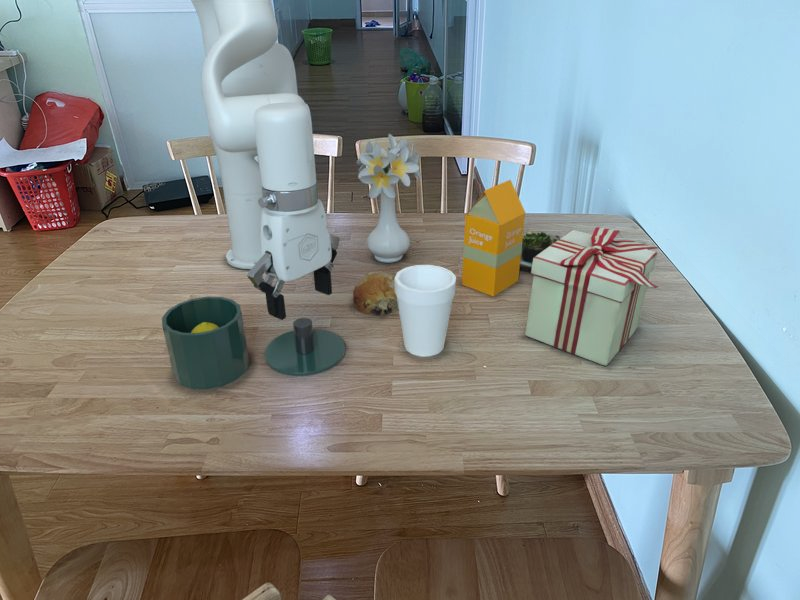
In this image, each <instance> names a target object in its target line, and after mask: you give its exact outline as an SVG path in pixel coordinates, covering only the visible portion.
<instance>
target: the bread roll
mask: <svg viewBox="0 0 800 600" xmlns="http://www.w3.org/2000/svg"><path fill="white" fill-rule="evenodd" d="M395 276H396V275H393V273H392V274H391V273H389V272H386V271H369V272H368V273H366V274H365V275H364V276H363V277H362V278H361V279H360V280H359V281H357V282H356V283H355V285H354V288H353V292H352V299H353V305H354V308H355V309H356V310H357V311H358V312H360V313H362V314H365V315H370V316H381V315H389V314H391V313H396V312H397V311H398V312H399V308H398V302H397V296H396V294H395Z"/></svg>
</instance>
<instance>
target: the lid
mask: <svg viewBox="0 0 800 600" xmlns="http://www.w3.org/2000/svg"><path fill="white" fill-rule="evenodd" d="M313 326H314V325H313V321H312V319H310V318H307V317H301V318H297V319H295V320H294V321H293V322H292V328H293V329H292V330H290V331H286V332H284V333H282V334H280V335H278V336H277V337H275V338H274V339H272V340H271V341H270V342H268V344H267V345H266V347H265V350H264V360H265V362H266V364H267V366H268V367H269V368H270V369H272V370H273V371H275V372H277V373H279V374H283V375H287V376H293V377H304V376H312V375H313V376H314V375H317V374H321V373H324V372H327V371H328V370H331V369H333V368H334V367H335V366H338V364H339V363H340V362H342V360H343V358H344V357H345V354H346V344H345V341H344V340H343V339H342V338H341V336H339V335H337V334H336V333H334V332H332V331H329V330H326V329H322V328H314V327H313Z"/></svg>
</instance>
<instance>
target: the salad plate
mask: <svg viewBox="0 0 800 600" xmlns="http://www.w3.org/2000/svg"><path fill="white" fill-rule="evenodd" d="M563 236H564V235H563ZM563 236H562V235H557V234H551V233H546V232H544V231H543V232H542V231H540V232H532V231H531V230H528V231H527V233H526V232H525V235H523V238H522V251H521V258H520V268H519V270H521V271H524V272H527V273H531V270H532V263H533V258H534V257H535V256H537V255H538V254H539V253H541V252H542V251H544V250H545V249H546V248H548V247H549V246H550V245H552V244H553V243H555V242H556V241H557V240H559V239H560V238H561V237H563Z"/></svg>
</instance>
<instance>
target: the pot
mask: <svg viewBox="0 0 800 600" xmlns="http://www.w3.org/2000/svg"><path fill="white" fill-rule="evenodd" d="M203 322H207V323H213V324H215V325H217V326H218V327H219V328H217V329H214V330H211V331H206V332H200V333H191V331H192V330H193V329H194V328H195V327H196V326H197V325H199V324H201V323H203ZM161 327H162V331H163V335H164V340H165V344H166V347H167V351H168V353H167V354H168V357H169V361H170V366H171V370H172V375H173V378H174V380H175V381H176V382H177V383H178V384H179V385H180V386H182V387H184V388H189V389H192V390H212V389H216V388H221V387H224V386H227V385H229V384H231V383H233V382H235V381H237V380H238V379H239V378H241V377H242V376H244V374H245V373H246V372H247V370H248V368H249V366H250V359H249V351H248V344H247V339H246V331H245V325H244V319H243V312H242V309H241V304H239V303H238V302H237V301H235V300H234V299H232V298H227V297H223V296H202V297H194V298H190V299H188V300H185V301H182V302H180V303H177V304H175V305H174V306H172V307H171V308H169V309H168V310H167V311H166V312H165V313H164V314H163V316H162V317H161Z"/></svg>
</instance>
